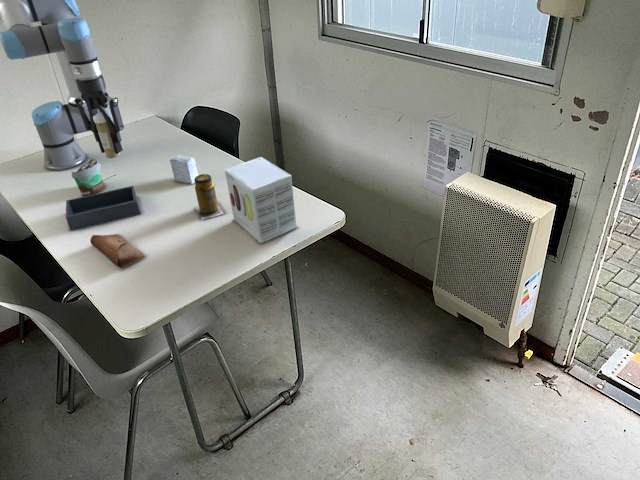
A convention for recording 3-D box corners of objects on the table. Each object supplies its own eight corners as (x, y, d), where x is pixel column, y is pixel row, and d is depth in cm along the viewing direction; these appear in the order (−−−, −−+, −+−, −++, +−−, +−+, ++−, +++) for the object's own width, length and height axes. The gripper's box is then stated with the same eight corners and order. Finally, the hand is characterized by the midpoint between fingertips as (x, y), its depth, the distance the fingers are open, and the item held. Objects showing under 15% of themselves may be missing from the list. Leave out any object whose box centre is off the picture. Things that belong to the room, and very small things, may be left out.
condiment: (216, 202, 171) (210, 170, 164) (224, 214, 164) (217, 181, 157) (195, 208, 168) (188, 176, 161) (202, 220, 162) (194, 187, 155)
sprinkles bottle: (123, 155, 160) (110, 114, 152) (109, 160, 158) (96, 118, 150) (116, 151, 163) (104, 110, 155) (103, 156, 160) (89, 115, 153)
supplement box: (232, 220, 160) (222, 169, 150) (268, 206, 167) (261, 155, 156) (260, 244, 149) (252, 190, 138) (298, 228, 155) (292, 174, 145)
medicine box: (199, 179, 186) (194, 157, 181) (192, 184, 182) (187, 162, 178) (182, 175, 189) (177, 154, 184) (174, 181, 185) (169, 159, 180)
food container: (95, 199, 178) (86, 173, 172) (80, 198, 179) (70, 172, 173) (114, 182, 188) (106, 157, 182) (99, 181, 189) (90, 157, 183)
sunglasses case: (146, 255, 147) (130, 244, 141) (130, 274, 145) (113, 264, 140) (117, 233, 157) (101, 222, 152) (102, 251, 156) (85, 240, 151)
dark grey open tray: (71, 212, 171) (66, 200, 168) (137, 197, 177) (133, 185, 174) (70, 230, 161) (65, 217, 159) (140, 214, 167) (136, 201, 165)
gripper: (54, 80, 145) (80, 155, 159) (107, 81, 141) (130, 158, 155) (70, 72, 151) (95, 145, 164) (122, 73, 147) (143, 147, 160)
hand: (112, 151), depth 159 cm, fingers closed on sprinkles bottle, 4 cm apart
